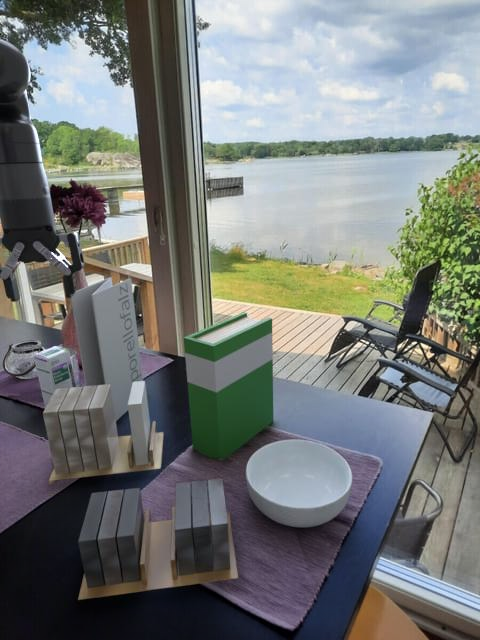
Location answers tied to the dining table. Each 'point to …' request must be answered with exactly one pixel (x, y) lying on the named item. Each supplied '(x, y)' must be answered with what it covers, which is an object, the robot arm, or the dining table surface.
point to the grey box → (108, 338)
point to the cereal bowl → (298, 482)
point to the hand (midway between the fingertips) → (43, 298)
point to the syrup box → (54, 371)
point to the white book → (139, 422)
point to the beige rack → (91, 435)
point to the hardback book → (229, 383)
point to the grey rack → (155, 542)
